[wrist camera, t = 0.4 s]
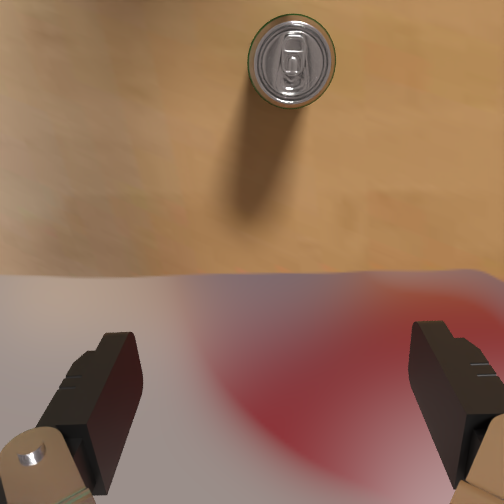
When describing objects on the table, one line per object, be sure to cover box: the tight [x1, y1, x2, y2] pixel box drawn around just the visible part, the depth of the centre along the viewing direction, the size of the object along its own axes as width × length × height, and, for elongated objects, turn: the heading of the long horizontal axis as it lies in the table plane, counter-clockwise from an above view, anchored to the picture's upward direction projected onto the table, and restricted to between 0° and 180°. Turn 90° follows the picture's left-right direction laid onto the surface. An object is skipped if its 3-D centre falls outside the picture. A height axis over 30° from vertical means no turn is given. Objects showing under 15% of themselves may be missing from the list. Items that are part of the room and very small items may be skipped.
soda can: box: [247, 14, 336, 109], centre depth 31 cm, size 5×5×12 cm
